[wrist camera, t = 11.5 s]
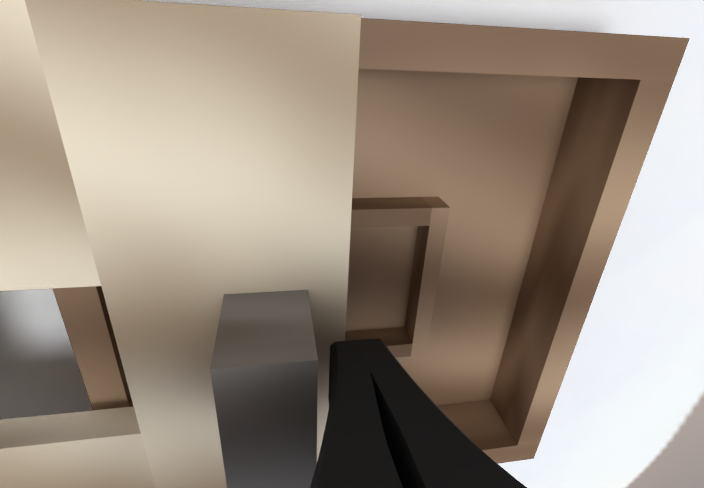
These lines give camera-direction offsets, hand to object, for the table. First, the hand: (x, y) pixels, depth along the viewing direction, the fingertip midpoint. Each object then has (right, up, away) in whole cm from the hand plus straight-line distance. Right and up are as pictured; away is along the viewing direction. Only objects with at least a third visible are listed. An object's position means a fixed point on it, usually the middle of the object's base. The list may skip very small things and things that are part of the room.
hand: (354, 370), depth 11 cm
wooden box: (0, +2, +5) cm, 5 cm away
